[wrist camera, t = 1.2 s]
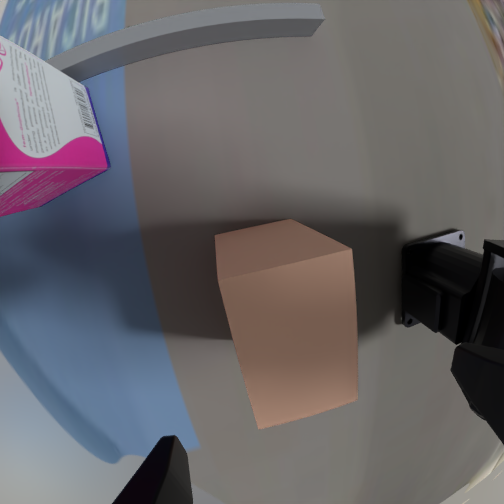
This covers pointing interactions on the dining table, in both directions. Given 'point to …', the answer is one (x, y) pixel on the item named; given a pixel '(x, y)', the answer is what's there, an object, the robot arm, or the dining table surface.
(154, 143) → the dining table surface
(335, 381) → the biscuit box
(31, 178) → the supplement box
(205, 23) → the curved grey bar
